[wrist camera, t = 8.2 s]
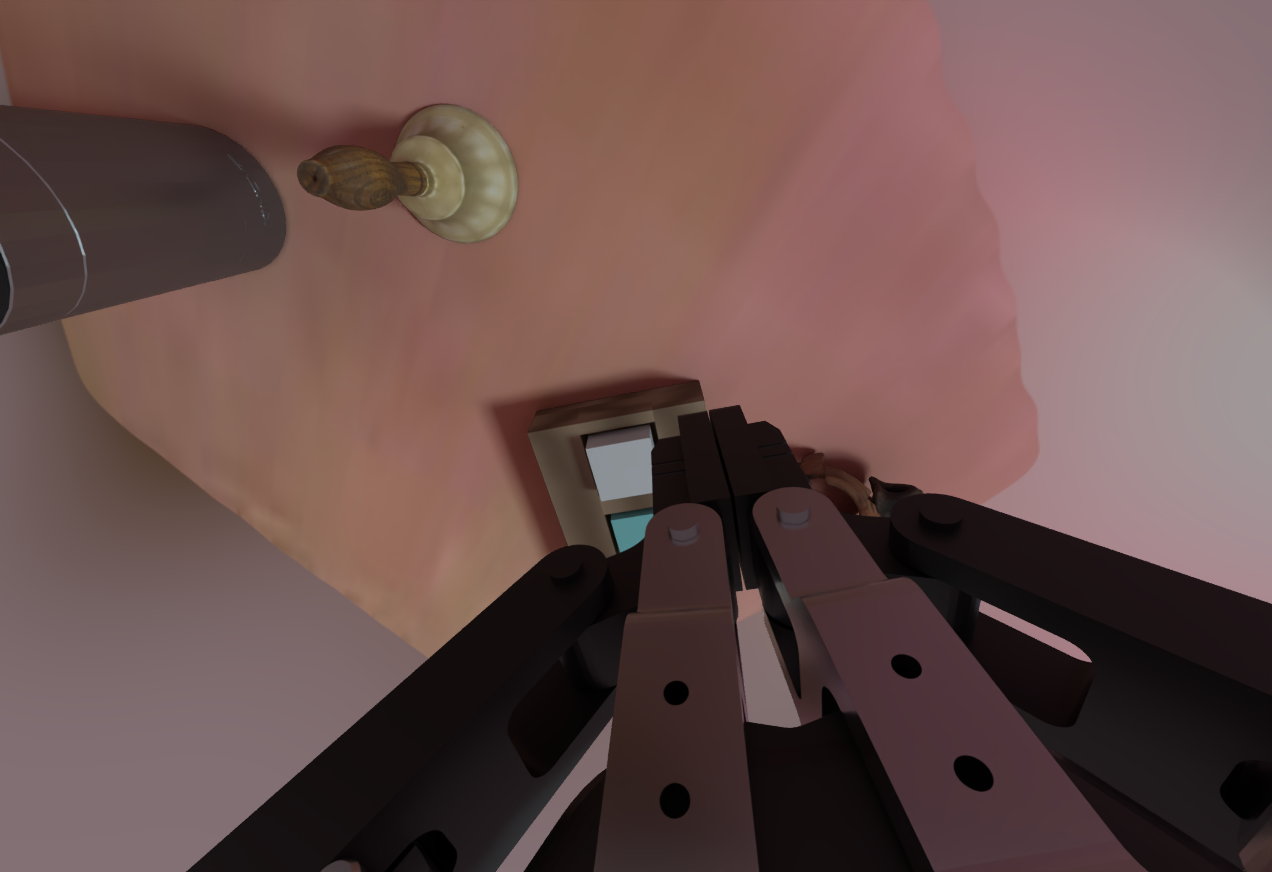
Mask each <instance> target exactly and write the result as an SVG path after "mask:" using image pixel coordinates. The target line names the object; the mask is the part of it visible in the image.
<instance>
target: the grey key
mask: <svg viewBox="0 0 1272 872" xmlns="http://www.w3.org/2000/svg"><path fill="white" fill-rule="evenodd" d="M653 448H654V442H653V437H652V433H651V428H650V424H648V425H643V426H637V427H632V428H626V429H621V430H615V431H610V432H604V433H599V434H593V435H588V440H587V445H586V452H587V456H588V459H589V462H590V466H591V469H592V472H593V475H594V479H595V482H596V485H597V489H598V492H599V495H600V499H601V501H607V500H613V499H619V498H625V497H631V496H637V495H643V494H649V493H652V465H651V451H652V449H653Z"/></svg>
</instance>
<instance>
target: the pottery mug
mask: <svg viewBox="0 0 1272 872" xmlns="http://www.w3.org/2000/svg"><path fill="white" fill-rule="evenodd" d="M825 457H826V456H825V455H824V454H823V453H815V454H809V455H807V456H805V457H804V458H803V459H802V462H801V463H798V464H799V466H800V468H801V470H802V472H803V474H804V476H805V478H806V479H807V481H808V483H809V485H811V482H810V479H812V478H824V479H825V483H826V484H828V485H831V486H834V487H837V488H839V489H841V490H843V491H844V492H845V493H847V494H848V495H849V496H850V497H851V498H852V499H853V501H854V502H855V504H856V506H857V508H858V511H859V515H861V516H875V517H890V513H891V510H892V507H893V506H894V505H895V504H896V503H897V502H898V501H900V500H901V499H903V498H905V497H908V496H912V495H917V494H924V493H923V491H922V490H919V489H918V488H916V487H915V486H912V485H907V484H891V483H884V482H882V481H880V480H878V479H877V478H875V477H872V476H871V477H870V478H869V482H870V484H871V489H872V492H873V496H872V497H869V495H870V493H871V491H870V490H869V489H868V488H867V487H866V486H865V485H864V484H862V483H861V482H860V481H859V480H857V479H856V478H854V477H853V476H851V475H849V474H847V473H845V472H844V471H842V470H840V469H837V468H834V467H831V466H824V459H825Z"/></svg>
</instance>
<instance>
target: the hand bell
mask: <svg viewBox="0 0 1272 872" xmlns="http://www.w3.org/2000/svg"><path fill="white" fill-rule="evenodd" d="M297 176H298V180H299V182H300V184H301V186H302V187H303V188H304V189H305V190H306V191H307V192H308V193H310V194H311V195H314V196H317V197H321V198H323V199H325V200H327V201H329V202H331V203H333V204H334V205H337V206H339V207H342V208H345V209H350V210H359V211H362V210H371V209H376V208H380V207H383V206H385V205H387V204H388V203H390V202H391V201H392V200H393V199H395V198H396V197H398V198H399V200H400V201H401V202H402V204H403V205H404V206H405V207H406V208H407V209H408V210H410V211H411V212H412V213H413V215H414V216H415V217H416V218H417V219H418V220H419V221H420V222H421V223H422V224H423V225H424V226H425V227H426V228H427V229H429V230H430V231H432V232H433V233H435V234H436V235H438V236H440V237H442V238H444V239H447V240H450V241H453V242H459V243H475V242H480V241H483V240H486V239H488V238H490V237H492V236H494V235H495V234H496V233H498V232H499V231H500V230H501V229H502V228H503V227H504V226H505V225H506V223H507V222H508V220H509V218H510V217H511V214H512V212H513V209H514V207H515V204H516V199H517V192H518V191H517V188H518V181H517V173H516V168H515V164H514V161H513V158H512V155H511V153H510V150H509V148H508V146H507V145H506V143H505V141H504V140H503V138H502V137H501V135H500V134H499V133H498V132H497V130H496V129H495V128H494V127H493V126H492V125H491V124H490V123H489V122H488V121H487V120H485V119H484V118H483V117H481V116H480V115H478V114H477V113H475V112H473V111H471V110H469V109H466V108H464V107H461V106H457V105H450V104H440V105H433V106H430V107H427V108H424V109H422V110H421V111H419V112H418V113H416V114H415V115H414V116H412V117H411V118H410V119H409V120H408V122H407V123H406V124H405V126H404V127H403V129H402V130H401V133H400V135H399V137H398V140H397V143H396V147H395V149H394V151H393V153H392V155H391V158H390V161H389V160H387V159H386V158H385V157H383V156H382V155H380V154H378V153H376V152H374V151H372V150H369V149H366V148H362V147H358V146H351V145H339V146H332V147H329V148H327V149H324V150H322V151H321V152H319V153H317V154H316V155H315V156H313V157H312V158H311V159H309V160H305V161H303V162H301V163H300V165H299V166H298V168H297Z"/></svg>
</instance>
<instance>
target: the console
mask: <svg viewBox="0 0 1272 872" xmlns="http://www.w3.org/2000/svg"><path fill="white" fill-rule="evenodd" d="M702 411H706V407H705V401H704V397H703V393H702V389H701V386H700V382H699V380H698V381H693V382H688V383H683V384H677V385H672V386H667V387H661V388H656V389H651V390H646V391H640V392H635V393H630V394H624V395H619V396H614V397H609V398H603V399H598V400H593V401H587V402H582V403H577V404H572V405H566V406H561V407H556V408H550V409H545V410H540V411H537V412H536V415H535V417H534V419H533V421H532V424H531V426H530V428H529V430H528V433H527V434H528V437H529V440H530V442H531V445H532V448H533V451H534V453H535V456H536V459H537V462H538V464H539V467H540V470H541V473H542V475H543V478H544V481H545V484H546V486H547V489H548V492H549V495H550V497H551V500H552V503H553V506H554V508H555V511H556V514H557V517H558V519H559V522H560V525H561V528H562V530H563V533H564V536H565V539H566V542H567V544H568V546H570V545H577V544H581V545H590V546H593V547H595V548H597V549H599V550H600V551H601V552H602V553H603V554H604V555H605V557H606V558H608V557H610V556H613V555H615V554H618V553H620V550H619V547H618V543H617V540H616V537H615V533H614V530H613V527H612V523H611V514H612V513H619V512H625V511H631V510H637V509H643V508H649V507H653V495H652V493H649V494H643V495H637V496H631V497H625V498H619V499H613V500H607V501H601V499H600V495H599V492H598V489H597V485H596V482H595V479H594V475H593V472H592V469H591V466H590V462H589V459H588V456H587V452H586V445H587V440H588V435H593V434H599V433H604V432H610V431H615V430H621V429H626V428H632V427H637V426H643V425H648V424H650V428H651V433H652V437H653V442H654V446H655V445H656V443H657V442H658V440H659V439H662V438H668V437H674V436H680V431H679V424H678V417H677V416H679V415H685V414H690V413H696V412H702ZM737 618H738V617H737Z"/></svg>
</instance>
